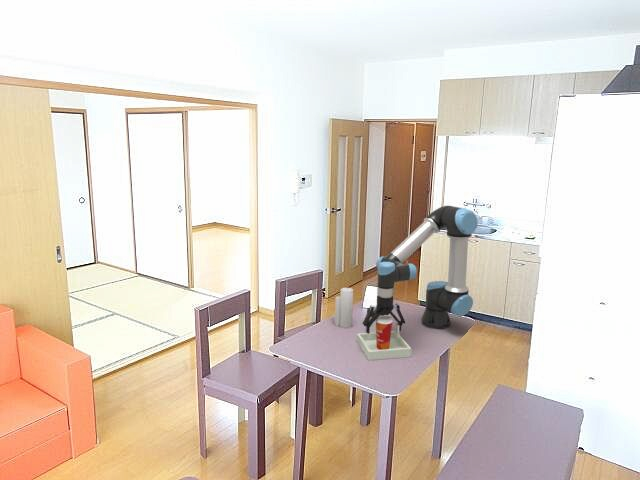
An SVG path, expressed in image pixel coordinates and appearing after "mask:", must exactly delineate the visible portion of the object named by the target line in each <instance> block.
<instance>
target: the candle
mask: <svg viewBox="0 0 640 480" xmlns="http://www.w3.org/2000/svg"><path fill="white" fill-rule="evenodd" d="M334 299H335V303H334V326H336V327H341V328H343V329H349V328H352V327H353V315H354V314H353V313H354V312H353V307H354V305H353V304H354V289H353V288H351V287H342V288H340V296H339V295H338V296H335V298H334Z"/></svg>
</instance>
